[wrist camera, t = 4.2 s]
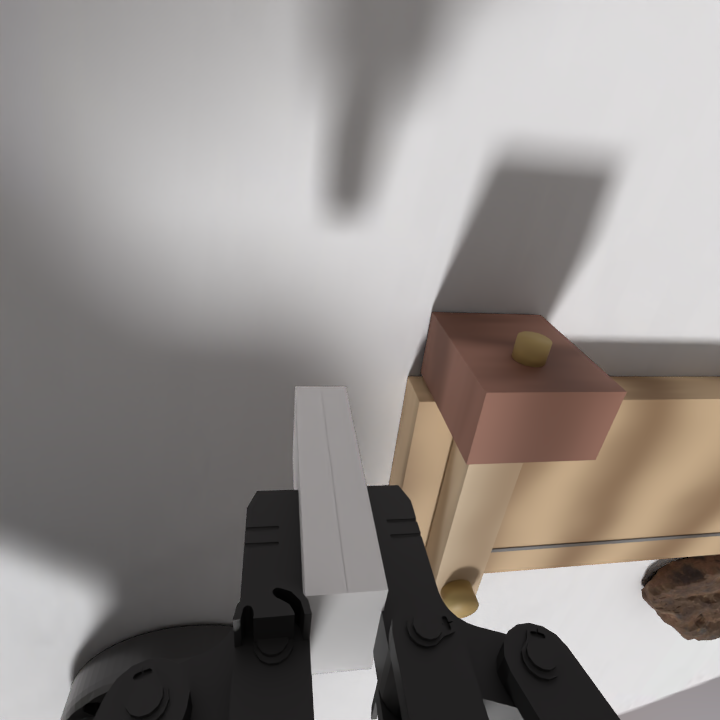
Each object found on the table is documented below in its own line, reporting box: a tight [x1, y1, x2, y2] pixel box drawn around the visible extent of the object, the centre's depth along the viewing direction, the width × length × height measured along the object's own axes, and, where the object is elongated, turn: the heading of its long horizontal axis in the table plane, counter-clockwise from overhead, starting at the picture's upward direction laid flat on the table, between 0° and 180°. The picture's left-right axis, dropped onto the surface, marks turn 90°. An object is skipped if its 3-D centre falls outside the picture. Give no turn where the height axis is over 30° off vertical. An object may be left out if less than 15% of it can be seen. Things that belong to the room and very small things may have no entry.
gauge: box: [421, 312, 627, 618], centre depth 21 cm, size 5×15×6 cm, turn 174°
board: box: [389, 376, 720, 573], centre depth 26 cm, size 22×12×2 cm, turn 84°
